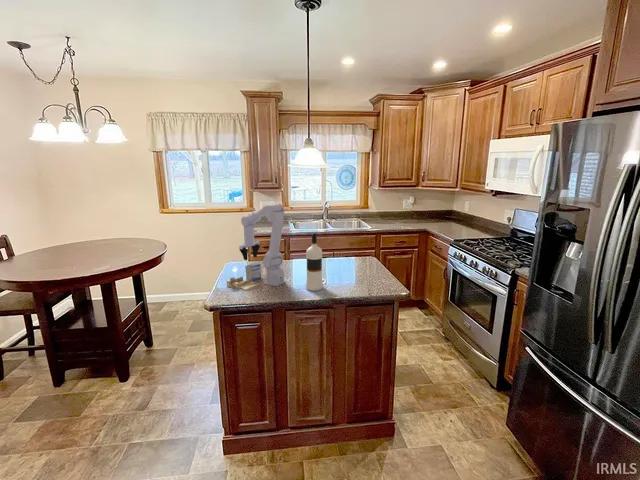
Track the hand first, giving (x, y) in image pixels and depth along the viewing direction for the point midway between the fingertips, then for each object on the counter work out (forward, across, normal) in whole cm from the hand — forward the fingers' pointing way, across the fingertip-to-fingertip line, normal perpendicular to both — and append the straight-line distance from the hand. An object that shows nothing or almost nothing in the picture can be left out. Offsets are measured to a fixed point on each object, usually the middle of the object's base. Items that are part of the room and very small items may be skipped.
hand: (250, 258), depth 192 cm
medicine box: (+10, +5, +7) cm, 14 cm away
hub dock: (+10, +16, +10) cm, 22 cm away
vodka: (+10, -2, +45) cm, 46 cm away
